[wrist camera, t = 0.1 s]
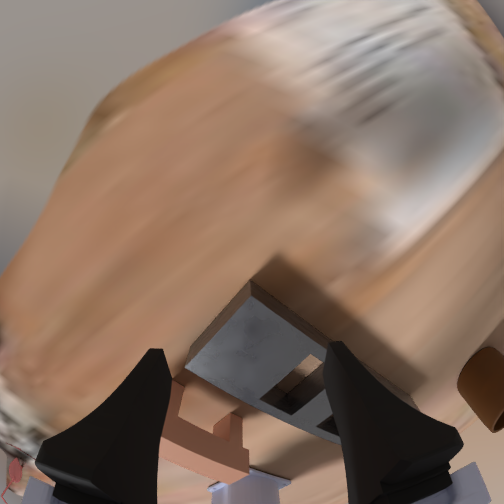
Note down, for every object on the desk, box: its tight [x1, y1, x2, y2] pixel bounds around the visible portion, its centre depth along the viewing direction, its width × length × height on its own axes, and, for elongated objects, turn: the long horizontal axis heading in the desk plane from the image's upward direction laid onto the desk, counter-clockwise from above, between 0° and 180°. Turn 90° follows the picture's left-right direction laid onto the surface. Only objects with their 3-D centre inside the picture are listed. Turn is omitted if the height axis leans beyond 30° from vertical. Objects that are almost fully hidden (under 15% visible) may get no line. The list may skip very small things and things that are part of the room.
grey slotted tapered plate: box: [185, 280, 420, 445], centre depth 24 cm, size 8×24×3 cm, turn 50°
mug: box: [457, 347, 504, 433], centre depth 23 cm, size 12×8×9 cm, turn 50°
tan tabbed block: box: [159, 380, 250, 485], centre depth 22 cm, size 3×10×7 cm, turn 51°
